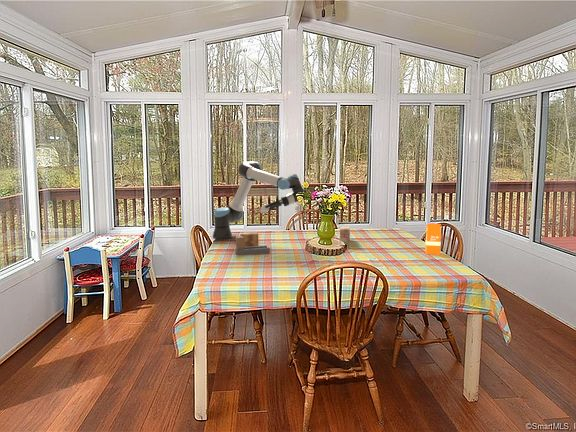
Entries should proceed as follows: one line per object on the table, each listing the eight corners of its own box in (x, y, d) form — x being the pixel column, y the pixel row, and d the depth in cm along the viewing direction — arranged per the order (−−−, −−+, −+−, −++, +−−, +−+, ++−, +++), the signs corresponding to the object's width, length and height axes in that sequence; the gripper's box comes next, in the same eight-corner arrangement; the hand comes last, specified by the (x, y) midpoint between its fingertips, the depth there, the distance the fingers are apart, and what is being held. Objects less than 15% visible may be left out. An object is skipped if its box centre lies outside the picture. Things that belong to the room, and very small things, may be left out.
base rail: (237, 255, 301) (237, 238, 299) (235, 252, 309) (234, 236, 308) (269, 252, 307) (269, 236, 305) (266, 249, 316) (266, 234, 314)
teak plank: (239, 249, 319) (239, 235, 318) (238, 247, 323) (238, 234, 321) (258, 247, 323) (258, 233, 322) (257, 246, 327) (256, 232, 325)
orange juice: (440, 254, 300) (441, 224, 297) (426, 254, 302) (427, 224, 299) (438, 251, 308) (440, 222, 305) (425, 251, 310) (426, 222, 307)
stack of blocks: (341, 239, 350) (341, 224, 348) (349, 240, 349) (350, 224, 347) (339, 245, 329) (339, 228, 327) (348, 245, 328) (348, 229, 326)
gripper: (291, 201, 318) (263, 213, 315) (288, 207, 343) (262, 217, 340) (287, 192, 319) (259, 203, 316) (284, 198, 343) (258, 208, 341)
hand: (260, 210), depth 328 cm, fingers open, 13 cm apart
